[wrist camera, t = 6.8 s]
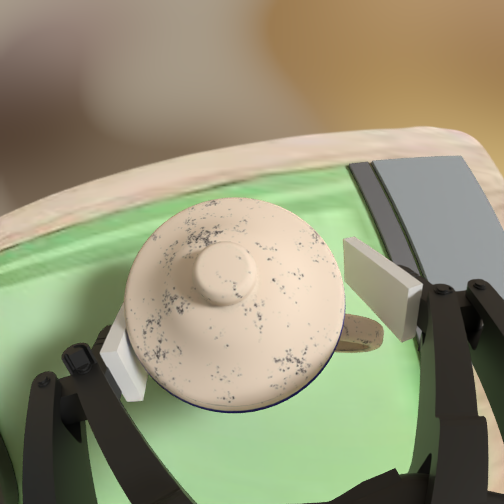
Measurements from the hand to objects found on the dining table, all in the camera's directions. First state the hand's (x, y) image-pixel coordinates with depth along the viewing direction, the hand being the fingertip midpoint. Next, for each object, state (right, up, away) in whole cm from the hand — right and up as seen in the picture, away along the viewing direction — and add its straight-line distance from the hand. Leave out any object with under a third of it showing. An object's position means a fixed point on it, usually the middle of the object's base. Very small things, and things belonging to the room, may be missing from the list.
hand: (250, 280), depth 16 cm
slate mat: (+20, +2, +5) cm, 21 cm away
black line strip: (+12, 0, +5) cm, 13 cm away
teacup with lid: (+1, -4, +3) cm, 5 cm away
